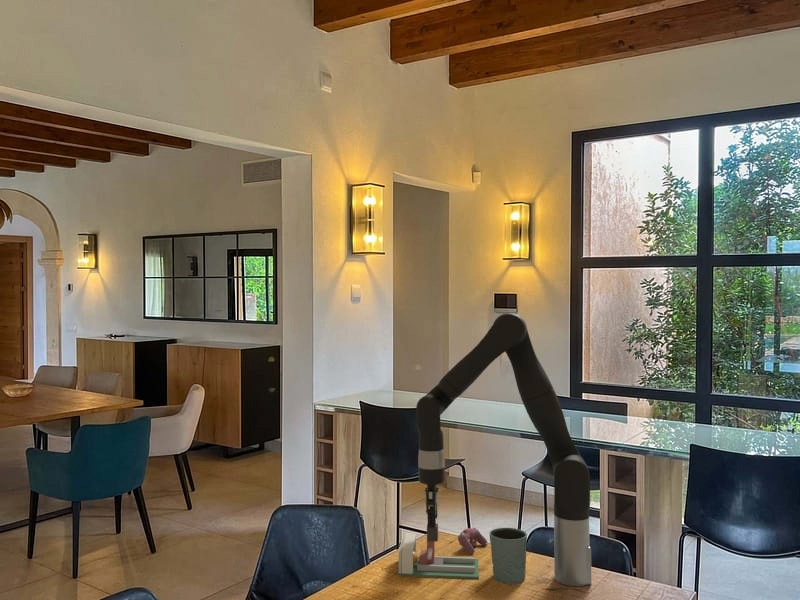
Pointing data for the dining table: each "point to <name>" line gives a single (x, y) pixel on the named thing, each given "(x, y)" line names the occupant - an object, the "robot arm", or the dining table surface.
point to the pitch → (447, 568)
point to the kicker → (431, 548)
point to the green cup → (508, 554)
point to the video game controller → (471, 539)
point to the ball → (415, 558)
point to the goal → (407, 553)
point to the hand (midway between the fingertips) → (432, 522)
